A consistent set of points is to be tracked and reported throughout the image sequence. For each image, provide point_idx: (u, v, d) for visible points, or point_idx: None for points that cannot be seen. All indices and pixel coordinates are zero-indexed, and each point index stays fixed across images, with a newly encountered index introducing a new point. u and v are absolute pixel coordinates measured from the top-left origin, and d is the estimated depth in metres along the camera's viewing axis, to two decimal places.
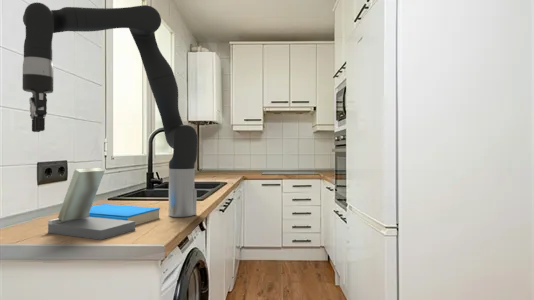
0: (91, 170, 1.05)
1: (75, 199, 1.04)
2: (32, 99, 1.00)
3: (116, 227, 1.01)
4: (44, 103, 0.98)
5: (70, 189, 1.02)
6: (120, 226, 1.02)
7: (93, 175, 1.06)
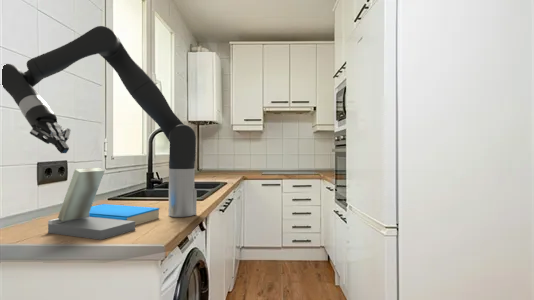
0: (91, 170, 1.05)
1: (75, 199, 1.04)
2: None
3: (116, 227, 1.01)
4: (41, 134, 1.07)
5: (70, 189, 1.02)
6: (120, 226, 1.02)
7: (93, 175, 1.06)
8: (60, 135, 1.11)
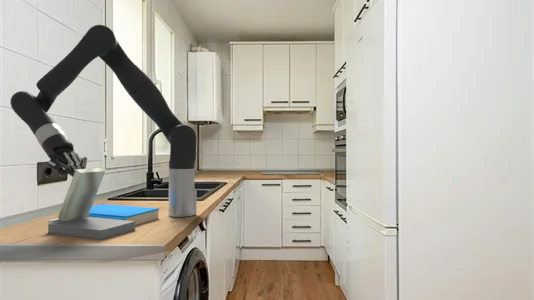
0: (92, 170, 1.05)
1: (75, 199, 1.04)
2: None
3: (116, 227, 1.01)
4: (59, 165, 1.04)
5: (70, 189, 1.02)
6: (120, 226, 1.02)
7: (94, 175, 1.06)
8: (77, 165, 1.09)
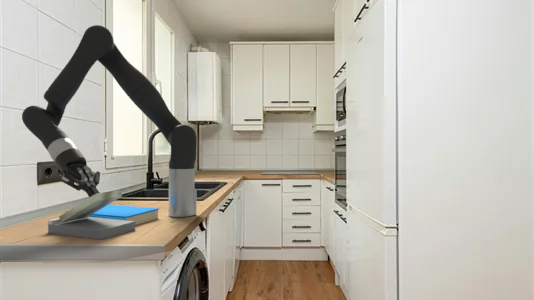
0: (110, 196, 1.03)
1: (82, 212, 1.03)
2: None
3: (116, 227, 1.01)
4: (73, 181, 1.02)
5: (82, 205, 1.01)
6: (120, 226, 1.02)
7: (109, 199, 1.04)
8: (91, 180, 1.07)
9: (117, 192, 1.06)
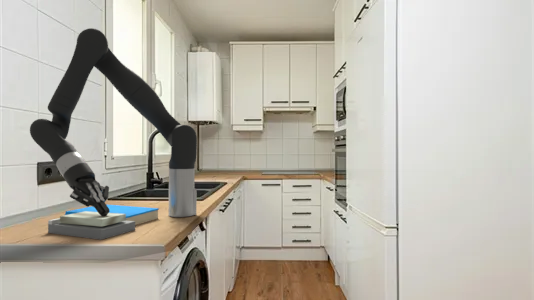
0: (114, 221, 1.02)
1: None
2: None
3: (116, 227, 1.01)
4: (82, 197, 1.01)
5: (85, 221, 1.00)
6: (120, 226, 1.02)
7: None
8: (100, 196, 1.05)
9: (122, 216, 1.05)
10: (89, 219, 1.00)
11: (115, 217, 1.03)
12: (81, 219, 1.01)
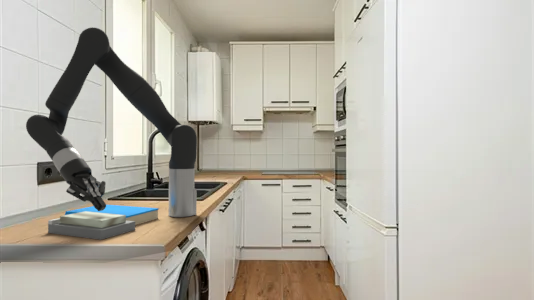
0: (114, 222, 1.02)
1: None
2: None
3: (116, 227, 1.01)
4: (79, 192, 1.01)
5: (85, 222, 1.00)
6: (120, 226, 1.02)
7: None
8: (96, 191, 1.06)
9: (122, 217, 1.05)
10: (89, 220, 1.00)
11: (115, 218, 1.03)
12: (81, 220, 1.01)
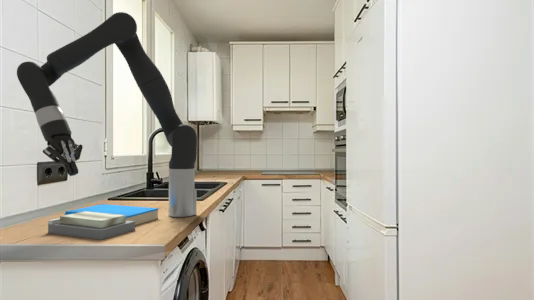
0: (114, 222, 1.02)
1: None
2: None
3: (116, 227, 1.01)
4: (54, 155, 1.05)
5: (85, 222, 1.00)
6: (120, 226, 1.02)
7: None
8: (72, 155, 1.10)
9: (122, 217, 1.05)
10: (89, 220, 1.00)
11: (115, 218, 1.03)
12: (81, 220, 1.01)
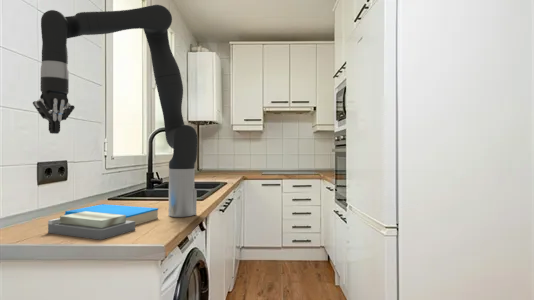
0: (114, 222, 1.02)
1: None
2: None
3: (116, 227, 1.01)
4: (42, 110, 1.06)
5: (85, 222, 1.00)
6: (120, 226, 1.02)
7: None
8: (59, 115, 1.11)
9: (122, 217, 1.05)
10: (89, 220, 1.00)
11: (115, 218, 1.03)
12: (81, 220, 1.01)
